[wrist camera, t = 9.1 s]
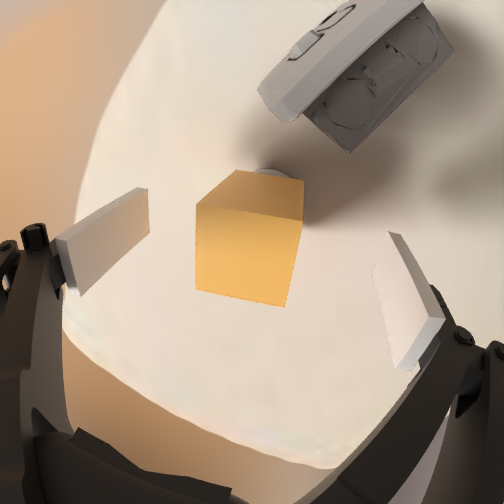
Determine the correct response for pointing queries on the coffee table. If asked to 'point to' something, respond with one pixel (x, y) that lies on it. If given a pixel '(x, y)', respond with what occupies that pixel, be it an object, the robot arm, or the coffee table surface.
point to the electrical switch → (356, 67)
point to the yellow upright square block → (249, 237)
